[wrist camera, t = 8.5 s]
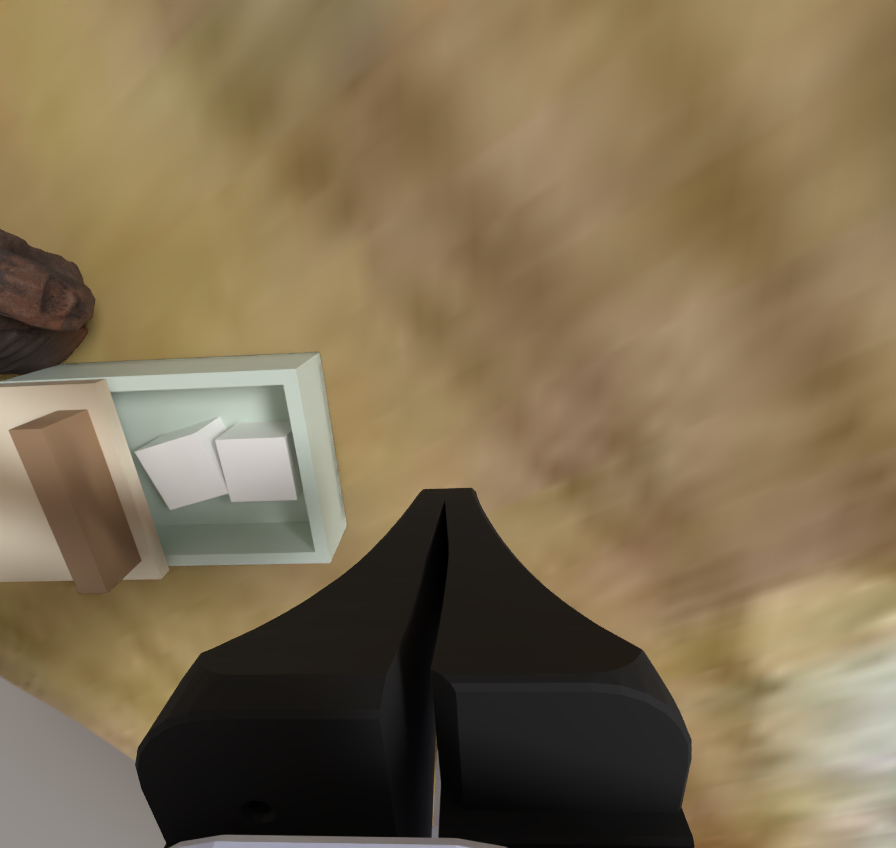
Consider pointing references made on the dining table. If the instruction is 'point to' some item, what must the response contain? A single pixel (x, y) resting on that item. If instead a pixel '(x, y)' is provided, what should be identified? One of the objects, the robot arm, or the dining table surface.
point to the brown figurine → (39, 307)
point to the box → (235, 401)
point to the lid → (71, 490)
